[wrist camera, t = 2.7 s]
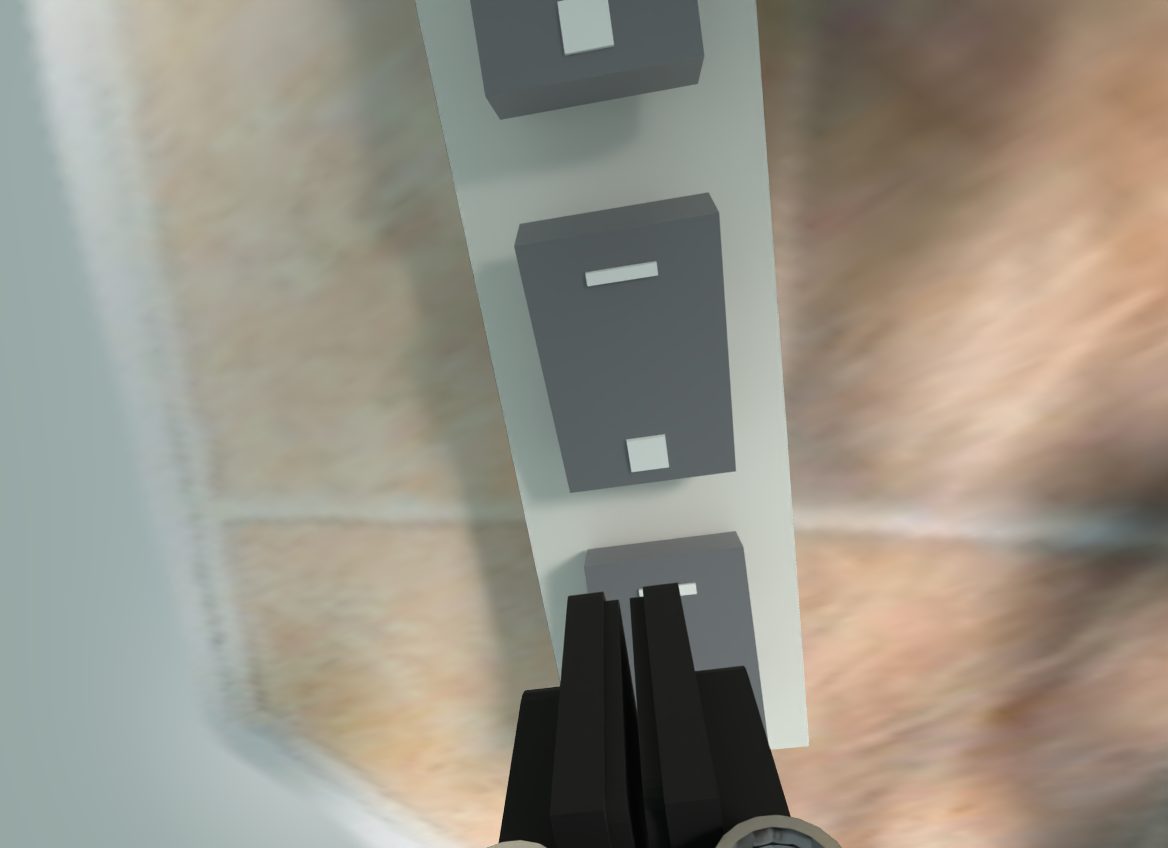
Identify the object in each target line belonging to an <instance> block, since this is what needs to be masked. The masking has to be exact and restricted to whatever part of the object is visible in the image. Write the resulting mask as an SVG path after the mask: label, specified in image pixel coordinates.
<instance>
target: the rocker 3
mask: <svg viewBox="0 0 1168 848" xmlns="http://www.w3.org/2000/svg"><path fill="white" fill-rule="evenodd" d="M584 571H585V577H586V584H587V590H588V593H595V592H604V594H605V599H606V601H610V600H619V603H620V609H621V615H622V621H623V627H624V633H625V640H626V646H627V652H628V658H629V664H630V671H631V677H632V683H633V689H634V695H635V702H636V708H637V700H636V685H635V671H634V656H633V641H632V626H631V611H630V598H634V597H642V596H643V587H644V586H652V585H660V584H668V583H676V582H678V586H679V591H680V596H681V601H682V606H683V611H684V617H685V622H686V627H687V632H688V637H689V643H690V648H691V653H692V658H693V663H694V669H695V671H701V670H710V669H718V668H727V667H736V666H745V668H746V670H747V673H748V676H749V679H750V683H751V686H752V689H753V693H754V696H755V699H756V703H757V706H758V709H759V713H760V716H761V719H762V723H763V726H764V730H765V733H766V736H767V728H766V720H765V712H764V704H763V696H762V689H761V681H760V673H759V665H758V657H757V649H756V641H755V633H754V626H753V618H752V610H751V602H750V594H749V586H748V578H747V570H746V562H745V555H744V547H743V545H742V543H741V541H740V539H739V537H738V535H737V533H736V531H733V532H725V533H717V534H708V535H700V536H692V537H684V538H676V539H668V540H660V541H651V542H643V543H635V544H627V545H619V546H611V547H603V548H594V549H588V550H587V555H586V559H585V563H584ZM767 740H768V736H767Z"/></svg>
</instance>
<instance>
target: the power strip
mask: <svg viewBox="0 0 1168 848" xmlns="http://www.w3.org/2000/svg"><path fill="white" fill-rule="evenodd" d="M415 3H416V8H417V13H418V17H419V22H420V27H421V31H422V36H423V41H424V46H425V50H426V55H427V60H428V64H429V69H430V74H431V78H432V83H433V88H434V92H435V97H436V102H437V107H438V111H439V116H440V121H441V125H442V130H443V135H444V139H445V144H446V149H447V153H448V158H449V163H450V167H451V172H452V177H453V182H454V186H455V191H456V196H457V200H458V205H459V210H460V214H461V219H462V224H463V228H464V233H465V238H466V243H467V247H468V252H469V257H470V261H471V266H472V271H473V275H474V280H475V285H476V289H477V294H478V299H479V304H480V308H481V313H482V318H483V322H484V327H485V332H486V336H487V341H488V346H489V350H490V355H491V360H492V364H493V369H494V374H495V379H496V383H497V388H498V393H499V397H500V402H501V407H502V411H503V416H504V421H505V425H506V430H507V435H508V440H509V444H510V449H511V454H512V458H513V463H514V468H515V472H516V477H517V482H518V486H519V491H520V496H521V500H522V505H523V510H524V515H525V519H526V524H527V529H528V533H529V538H530V543H531V547H532V552H533V557H534V561H535V566H536V571H537V576H538V580H539V585H540V590H541V594H542V599H543V604H544V608H545V613H546V618H547V622H548V627H549V632H550V636H551V641H552V646H553V651H554V655H555V660H556V665H557V669H558V674H559V679H560V682H561V670H562V658H563V646H564V634H565V622H566V610H567V599H568V596H571V595H579V594H587V593H588V590H587V584H586V577H585V571H584V563H585V559H586V555H587V550H588V549H594V548H603V547H611V546H619V545H627V544H635V543H643V542H651V541H660V540H668V539H676V538H684V537H692V536H700V535H708V534H717V533H725V532H733V531H736V533H737V535H738V537H739V539H740V541H741V543H742V545H743V547H744V555H745V562H746V570H747V578H748V586H749V594H750V602H751V610H752V618H753V626H754V633H755V641H756V649H757V657H758V665H759V673H760V681H761V689H762V696H763V704H764V712H765V720H766V728H767V736H768V743H769V746H770V750H771V749H781V748H792V747H802V746H809V737H808V723H807V709H806V695H805V681H804V667H803V653H802V639H801V625H800V611H799V597H798V583H797V569H796V555H795V541H794V527H793V513H792V499H791V485H790V471H789V457H788V443H787V429H786V415H785V401H784V386H783V372H782V358H781V344H780V330H779V316H778V302H777V288H776V274H775V260H774V246H773V232H772V218H771V204H770V190H769V176H768V162H767V148H766V134H765V120H764V106H763V92H762V78H761V64H760V50H759V35H758V21H757V7H756V0H698V8H699V16H700V24H701V33H702V41H703V49H704V60H703V64H702V69H701V73H700V77H699V81H698V84H695V85H689V86H684V87H678V88H673V89H667V90H662V91H656V92H651V93H645V94H640V95H634V96H629V97H623V98H618V99H612V100H607V101H601V102H596V103H590V104H585V105H579V106H574V107H568V108H563V109H557V110H552V111H546V112H541V113H535V114H530V115H524V116H519V117H513V118H508V119H502V120H500V119H499V117H498V116H497V114H496V113H495V111H494V109H493V108H492V106H491V105H490V103H489V102H488V100H487V99H486V97H485V92H484V85H483V79H482V73H481V66H480V60H479V54H478V47H477V41H476V35H475V28H474V22H473V16H472V9H471V3H470V0H415ZM707 192H709V194H710V196H711V198H712V200H713V202H714V204H715V205H716V207H717V209H718V211H719V216H720V232H721V247H722V263H723V278H724V293H725V309H726V324H727V340H728V355H729V370H730V386H731V401H732V417H733V432H734V447H735V463H736V471H735V472H727V473H719V474H712V475H704V476H696V477H689V478H681V479H674V480H666V481H658V482H651V483H643V484H635V485H628V486H620V487H612V488H605V489H597V490H589V491H582V492H574V493H570V490H569V486H568V482H567V477H566V473H565V468H564V464H563V460H562V455H561V451H560V446H559V442H558V438H557V433H556V429H555V424H554V420H553V416H552V411H551V407H550V402H549V398H548V394H547V389H546V385H545V381H544V376H543V372H542V367H541V363H540V359H539V354H538V350H537V345H536V341H535V337H534V332H533V328H532V323H531V319H530V315H529V310H528V306H527V301H526V297H525V293H524V288H523V284H522V279H521V275H520V271H519V266H518V262H517V257H516V253H515V249H514V244H515V240H516V236H517V232H518V229H519V225H520V224H522V223H528V222H534V221H540V220H546V219H552V218H558V217H564V216H570V215H576V214H582V213H588V212H594V211H600V210H606V209H612V208H618V207H624V206H629V205H635V204H641V203H647V202H653V201H659V200H665V199H671V198H677V197H683V196H689V195H695V194H701V193H707Z"/></svg>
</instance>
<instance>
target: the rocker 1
mask: <svg viewBox="0 0 1168 848" xmlns="http://www.w3.org/2000/svg"><path fill="white" fill-rule="evenodd" d="M470 3H471V9H472V16H473V22H474V28H475V35H476V41H477V47H478V54H479V60H480V66H481V73H482V79H483V85H484V92H485V97H486V99H487V100H488V102H489V103H490V105H491V106H492V108H493V109H494V111H495V113H496V114H497V116H498V117H499V119H500V120H502V119H508V118H513V117H519V116H524V115H530V114H535V113H541V112H546V111H552V110H557V109H563V108H568V107H574V106H579V105H585V104H590V103H596V102H601V101H607V100H612V99H618V98H623V97H629V96H634V95H640V94H645V93H651V92H656V91H662V90H667V89H673V88H678V87H684V86H689V85H695V84H698V81H699V77H700V73H701V69H702V64H703V60H704V49H703V41H702V33H701V24H700V16H699V8H698V0H470Z"/></svg>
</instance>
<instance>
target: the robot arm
mask: <svg viewBox="0 0 1168 848" xmlns="http://www.w3.org/2000/svg"><path fill="white" fill-rule="evenodd" d="M630 611H631V626H632V641H633V656H634V671H635V685H636V700H637V708H636V702H635V695H634V689H633V683H632V677H631V671H630V664H629V658H628V652H627V646H626V640H625V633H624V627H623V621H622V615H621V609H620V603H619V600H610V601H606V599H605V594H604V592H595V593H587V594H579V595H571V596H568V599H567V610H566V622H565V634H564V646H563V658H562V670H561V682H560V687H552V688H544V689H535V690H526V691H525V692H524V693H523V695H522V699H521V704H520V711H519V717H518V723H517V730H516V736H515V743H514V749H513V755H512V762H511V768H510V774H509V781H508V787H507V793H506V800H505V806H504V813H503V819H502V825H501V832H500V838H499V843H498V844H495V845H493V846H490V847H488V848H842V847H841V846H840V844H839V843H838V842H837V841H836V840H835V839H834V838H832V837H831V836H830V835H828V834H827V833H826V832H825V831H823V830H822V829H821V828H819V827H817V826H815V825H813V824H810V823H808V822H806V821H803V820H801V819H799V818H793V817H791V816H790V813H789V810H788V806H787V803H786V800H785V796H784V793H783V790H782V786H781V783H780V780H779V776H778V773H777V770H776V766H775V763H774V760H773V756H772V753H771V750H770V746H769V743H768V740H767V736H766V733H765V730H764V726H763V723H762V719H761V716H760V713H759V709H758V706H757V703H756V699H755V696H754V693H753V689H752V686H751V683H750V679H749V676H748V673H747V670H746V668H745V666H736V667H727V668H718V669H710V670H701V671H695V669H694V663H693V658H692V653H691V648H690V643H689V637H688V632H687V627H686V622H685V617H684V611H683V606H682V601H681V596H680V591H679V586H678V582H676V583H668V584H660V585H652V586H644V587H643V596H642V597H634V598H630Z"/></svg>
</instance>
